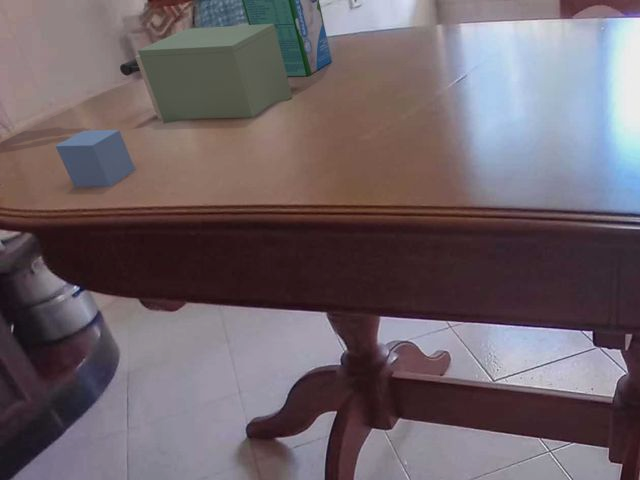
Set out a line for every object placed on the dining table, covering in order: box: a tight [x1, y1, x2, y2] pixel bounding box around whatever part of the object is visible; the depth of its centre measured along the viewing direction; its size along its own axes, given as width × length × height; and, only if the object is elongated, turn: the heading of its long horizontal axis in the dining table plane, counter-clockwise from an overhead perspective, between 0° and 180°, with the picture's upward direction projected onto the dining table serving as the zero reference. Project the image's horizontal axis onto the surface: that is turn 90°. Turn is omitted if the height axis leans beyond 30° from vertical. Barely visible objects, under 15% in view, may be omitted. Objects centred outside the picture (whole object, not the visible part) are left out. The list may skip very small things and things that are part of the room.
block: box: [55, 129, 136, 187], centre depth 83 cm, size 5×5×6 cm
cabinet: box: [137, 24, 293, 124], centre depth 103 cm, size 15×13×11 cm
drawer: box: [119, 54, 163, 120], centre depth 104 cm, size 18×11×9 cm, turn 78°
